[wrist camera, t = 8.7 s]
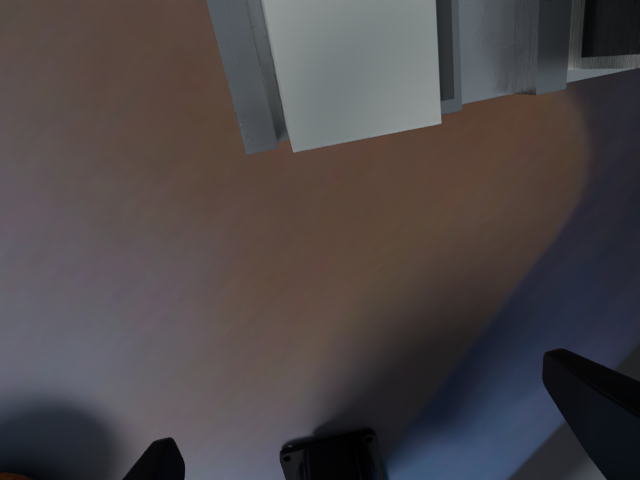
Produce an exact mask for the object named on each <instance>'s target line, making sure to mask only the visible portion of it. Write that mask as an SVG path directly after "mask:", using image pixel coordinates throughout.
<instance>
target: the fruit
mask: <svg viewBox="0 0 640 480" xmlns="http://www.w3.org/2000/svg"><path fill="white" fill-rule="evenodd" d="M0 480H32V479H30V478H28V477H25V476H22V475H20V474H14V473H8V472H0Z"/></svg>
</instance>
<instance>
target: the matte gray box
mask: <svg viewBox="0 0 640 480" xmlns="http://www.w3.org/2000/svg"><path fill="white" fill-rule="evenodd" d="M261 2H262V7H263V12H264V17H265V22H266V27H267V32H268V37H269V42H270V47H271V52H272V57H273V62H274V67H275V72H276V77H277V82H278V87H279V92H280V97H281V102H282V107H283V112H284V117H285V122H286V127H287V130H288V134H289V138H290V141H291V145H292V149H293V152H298V151H303V150H309V149H314V148H319V147H324V146H329V145H334V144H339V143H344V142H350V141H355V140H360V139H365V138H370V137H375V136H380V135H385V134H390V133H396V132H401V131H406V130H411V129H416V128H421V127H426V126H431V125H437V124H441V106H440V101H445V100H450V99H455V98H454V67H453V36H452V4H451V0H261Z"/></svg>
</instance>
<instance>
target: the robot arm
mask: <svg viewBox="0 0 640 480" xmlns="http://www.w3.org/2000/svg"><path fill="white" fill-rule="evenodd" d="M542 379H543V383H544V386H545V388H546V389H547V391H548V393H549V394H550V396H551V397H552V399H553V401H554V402H555V404H556V406H557V407H558V409H559V410H560V412H561V414H562V415H563V417H564V418H565V420H566V422H567V423H568V425H569V426H570V428H571V430H572V431H573V433H574V435H575V436H576V438H577V439H578V441H579V442H580V444H581V445H582V447H583V448H584V450H585V451H586V452H587V454H588V455H589V457H590V458H591V459H592V461H593V462H594V463H595V464H596V466H597V467H598V469H599V470H600V471H601V473H602V474H603V475H604V477H605V478H606V479H607V480H640V382H639V381H637V380H635V379H632V378H630V377H627V376H626V375H623V374H621V373H619V372H616V371H614V370H612V369H610V368H607V367H605V366H603V365H600V364H598V363H596V362H593V361H591V360H589V359H587V358H584V357H582V356H580V355H577V354H575V353H573V352H571V351H568V350H566V349H562V348H559V349H555V350H550V351H547V352H545V354H544V357H543V373H542ZM368 437H369V438H368ZM280 463H281V466H282V469H283V472H284V475H285V478H286V480H384V478H383V472H382V467H381V461H380V455H379V450H378V444H377V438H376V435H375V432H374V431H373V430H370V429H368V430H363V431H359V432H354V433H350V434H346V435H341V436H337V437H333V438H328V439H324V440H320V441H315V442H311V443H306V444H302V445H298V446H293V447H289V448H285V449H283V450H281V451H280ZM184 478H185V463H184V460H183V457H182V455H181V453H180V451H179V449H178V447H177V445H176V443H175V441H174V439H173V438H171V437H168V438H164V439H159V440H156V441H154V442H153V443H152V444H151V445H150V446H149V447H148V448H147V450H146V451H145V452H144V453H143V455H142V456H141V457H140V458H139V459H138V461H137V462H136V463H135V464H134V466H133V467H132V468H131V469H130V471H129V472H128V473H127V474H126V476H125V477H124V478H123V479H122V480H184Z"/></svg>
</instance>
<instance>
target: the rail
mask: <svg viewBox="0 0 640 480" xmlns="http://www.w3.org/2000/svg"><path fill="white" fill-rule="evenodd" d="M207 4H208V8H209V12H210V15H211V19H212V23H213V27H214V31H215V35H216V39H217V43H218V46H219V50H220V54H221V58H222V62H223V66H224V70H225V73H226V77H227V81H228V85H229V89H230V93H231V97H232V101H233V104H234V108H235V112H236V116H237V120H238V124H239V128H240V131H241V135H242V139H243V143H244V147H245V151H246V155H248V154H253V153H258V152H262V151H267V150H272V149H277V148H278V142H280V141H285V140H290V138H289V134H288V130H287V127H286V122H285V117H284V112H283V107H282V102H281V97H280V92H279V87H278V82H277V77H276V72H275V67H274V62H273V57H272V52H271V47H270V42H269V37H268V32H267V27H266V22H265V17H264V12H263V7H262V2H261V0H207ZM451 4H452V36H453V67H454V98H455V99H450V100H445V101H440V106H441V115H442V114H447V113H451V112H456V111H461V110H462V104H465V103H470V102H475V101H480V100H484V99H489V98H494V97H499V96H504V95H509V94H528V95H539V94H543V93H548V92H553V91H558V90H563V89H566V84H567V82H572V81H577V80H582V79H586V78H591V77H596V76H601V75H606V74H611V73H616V72H620V71H625V70H630V69H635V68H640V0H451Z"/></svg>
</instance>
